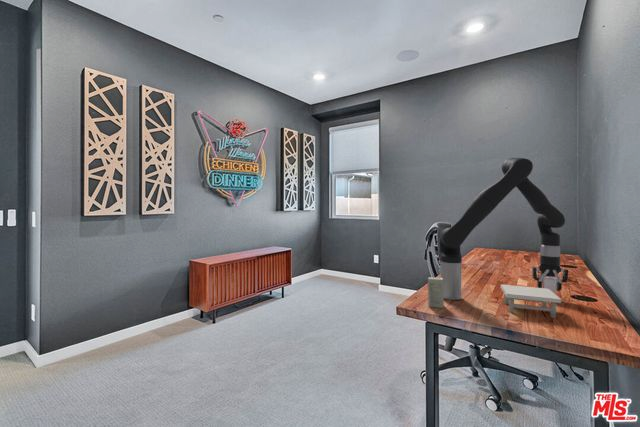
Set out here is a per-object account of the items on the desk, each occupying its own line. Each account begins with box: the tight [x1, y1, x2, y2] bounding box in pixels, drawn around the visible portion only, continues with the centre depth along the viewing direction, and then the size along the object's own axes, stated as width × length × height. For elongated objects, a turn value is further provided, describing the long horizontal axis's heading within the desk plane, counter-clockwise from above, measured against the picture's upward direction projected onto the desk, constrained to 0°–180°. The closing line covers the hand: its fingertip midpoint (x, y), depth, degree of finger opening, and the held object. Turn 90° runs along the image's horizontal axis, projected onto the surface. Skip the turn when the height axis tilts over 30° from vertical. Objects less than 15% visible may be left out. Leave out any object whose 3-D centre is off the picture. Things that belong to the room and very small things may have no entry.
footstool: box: [500, 284, 562, 319], centre depth 127 cm, size 18×16×8 cm
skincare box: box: [427, 276, 445, 309], centre depth 132 cm, size 6×4×12 cm
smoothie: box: [541, 276, 558, 294], centre depth 143 cm, size 6×6×14 cm
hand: (549, 289), depth 143 cm, fingers open, 6 cm apart
